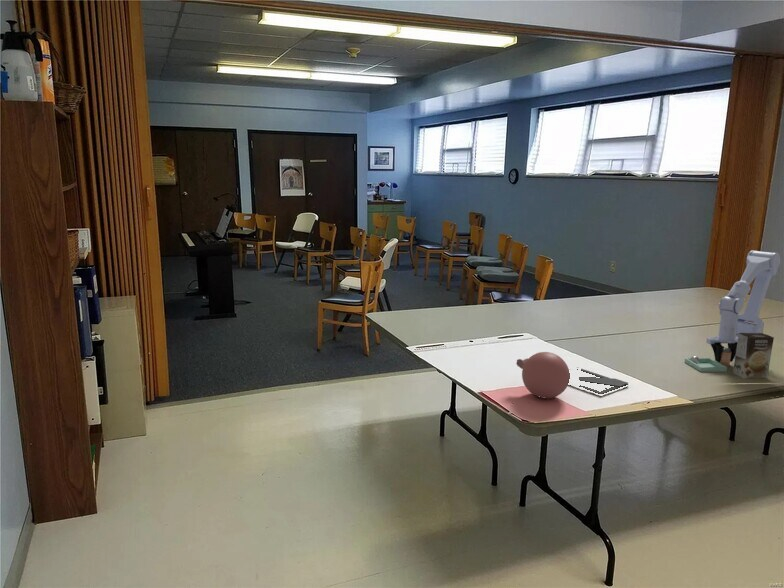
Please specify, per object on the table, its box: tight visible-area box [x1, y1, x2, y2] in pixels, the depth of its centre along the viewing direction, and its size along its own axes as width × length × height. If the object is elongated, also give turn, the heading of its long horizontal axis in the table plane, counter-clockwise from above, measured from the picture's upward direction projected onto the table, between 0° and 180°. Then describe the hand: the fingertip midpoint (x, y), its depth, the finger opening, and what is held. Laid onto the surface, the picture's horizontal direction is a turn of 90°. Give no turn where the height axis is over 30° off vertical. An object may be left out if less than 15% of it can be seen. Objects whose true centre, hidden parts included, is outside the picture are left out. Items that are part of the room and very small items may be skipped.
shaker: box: [718, 346, 731, 368], centre depth 214 cm, size 4×4×7 cm
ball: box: [689, 355, 700, 364], centre depth 215 cm, size 3×3×3 cm
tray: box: [684, 357, 728, 373], centre depth 212 cm, size 10×11×2 cm
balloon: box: [515, 351, 570, 399], centre depth 185 cm, size 15×20×15 cm
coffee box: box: [732, 332, 775, 379], centre depth 201 cm, size 9×6×16 cm
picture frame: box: [577, 368, 629, 394], centre depth 197 cm, size 16×2×21 cm
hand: (723, 361), depth 214 cm, fingers closed on shaker, 4 cm apart
